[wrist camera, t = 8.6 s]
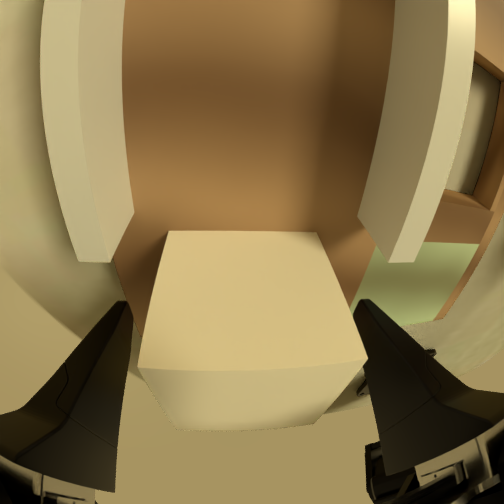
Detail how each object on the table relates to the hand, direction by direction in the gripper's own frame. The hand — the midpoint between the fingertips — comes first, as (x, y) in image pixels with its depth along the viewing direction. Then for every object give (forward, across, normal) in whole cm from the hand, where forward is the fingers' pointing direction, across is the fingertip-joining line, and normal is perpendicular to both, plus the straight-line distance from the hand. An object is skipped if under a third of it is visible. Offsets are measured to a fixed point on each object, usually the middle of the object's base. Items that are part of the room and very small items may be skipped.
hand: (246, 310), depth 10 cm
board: (+2, -4, -6) cm, 8 cm away
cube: (+1, 0, 0) cm, 1 cm away
